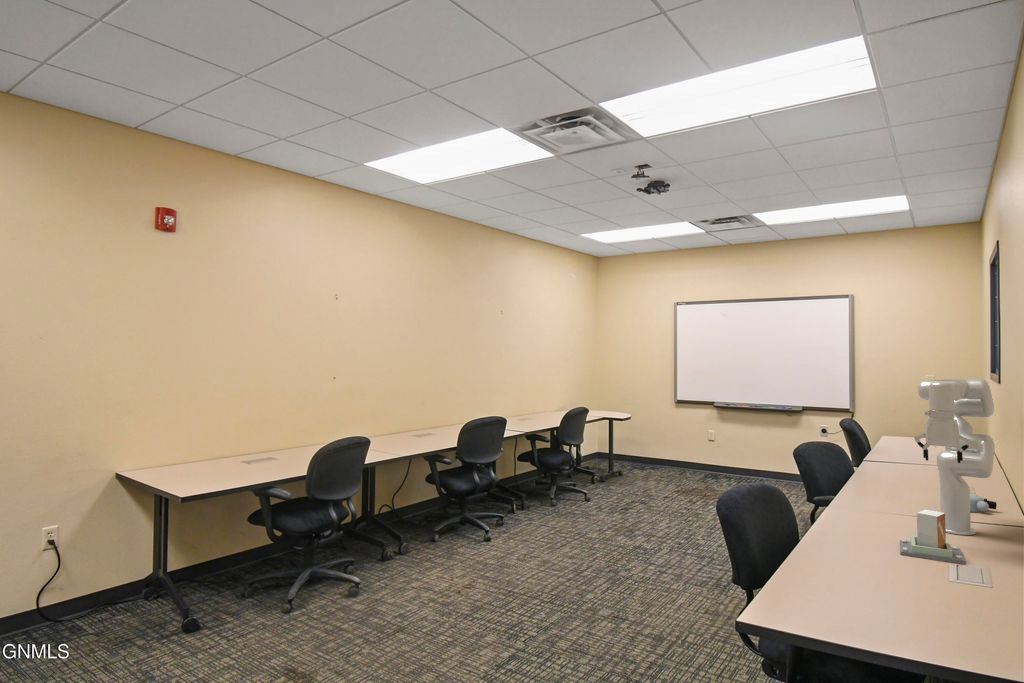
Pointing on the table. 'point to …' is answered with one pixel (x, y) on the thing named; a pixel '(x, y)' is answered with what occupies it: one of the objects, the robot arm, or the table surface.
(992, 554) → the table surface
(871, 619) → the table surface
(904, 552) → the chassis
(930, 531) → the small box
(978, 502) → the figurine
